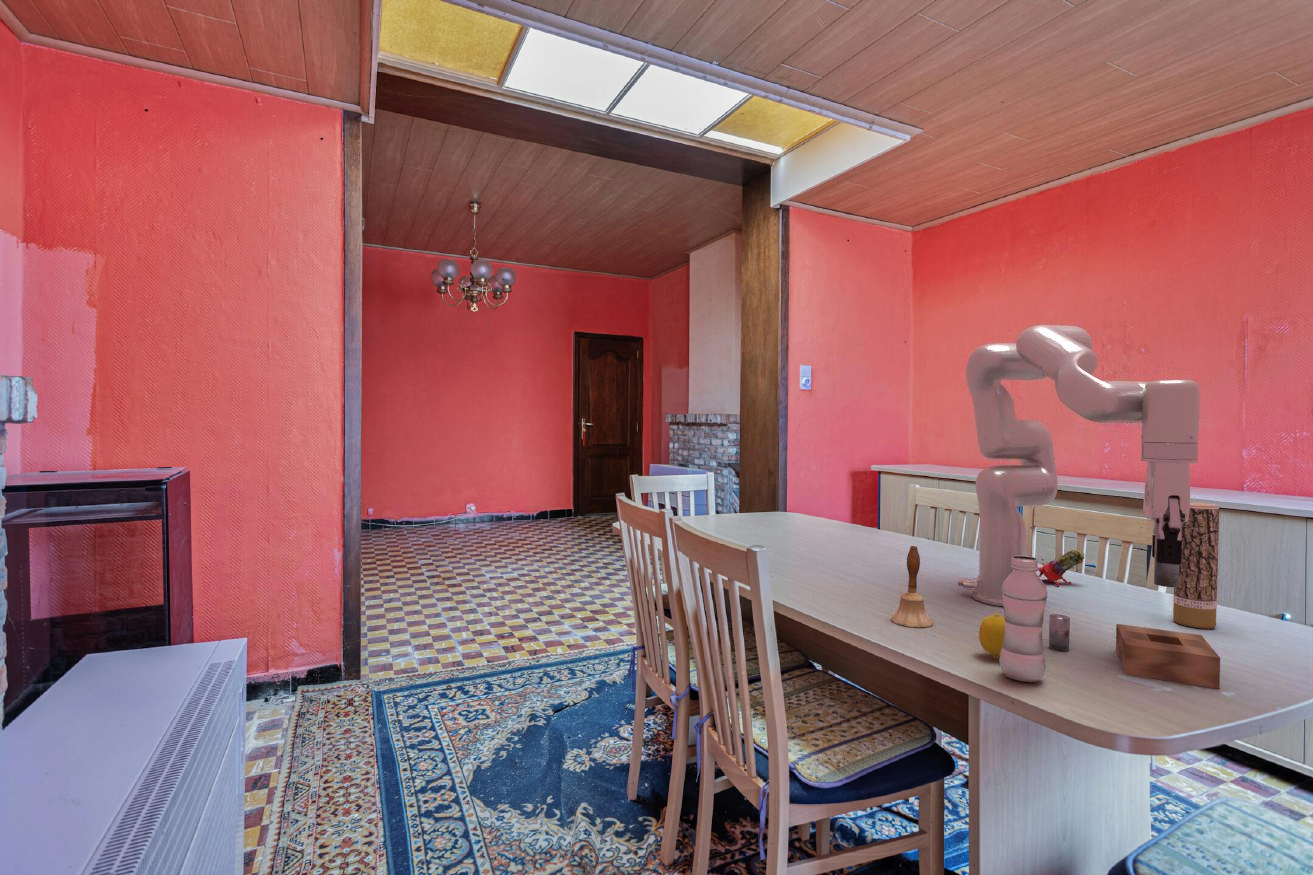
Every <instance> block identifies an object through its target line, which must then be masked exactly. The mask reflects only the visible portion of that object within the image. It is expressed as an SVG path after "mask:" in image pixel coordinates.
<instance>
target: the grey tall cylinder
mask: <svg viewBox="0 0 1313 875" xmlns="http://www.w3.org/2000/svg"><path fill="white" fill-rule="evenodd" d="M1163 521H1169V517H1165V518H1163ZM1165 526H1166V525H1165V524H1164V527H1165ZM1164 530H1165V529H1164ZM1157 539H1159V518H1157V520H1156V523H1155V558H1154V567H1153V568H1154V569H1153V570H1154V571H1153V573H1154V574H1153V575H1154V577H1153V584H1154V585H1156V586H1159V587H1164V588H1174V587H1178V573H1179V565H1175V564H1164V563H1158V562H1157V561H1156V556H1157Z"/></svg>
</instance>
